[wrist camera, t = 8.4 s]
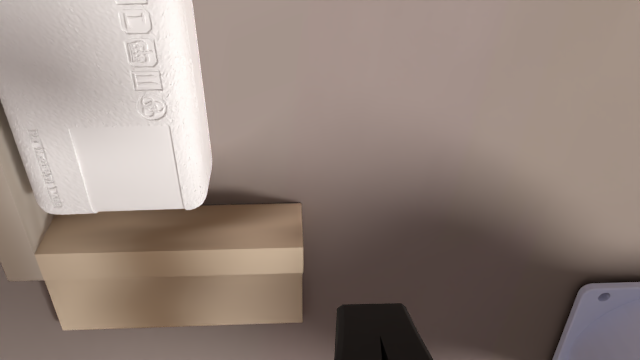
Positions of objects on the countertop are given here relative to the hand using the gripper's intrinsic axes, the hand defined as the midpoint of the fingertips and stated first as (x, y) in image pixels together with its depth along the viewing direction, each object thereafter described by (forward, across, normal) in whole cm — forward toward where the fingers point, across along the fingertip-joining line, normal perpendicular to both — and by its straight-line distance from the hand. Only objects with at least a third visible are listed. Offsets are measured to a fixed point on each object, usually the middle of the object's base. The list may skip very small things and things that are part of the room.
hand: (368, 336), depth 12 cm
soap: (+10, +7, -2) cm, 12 cm away
